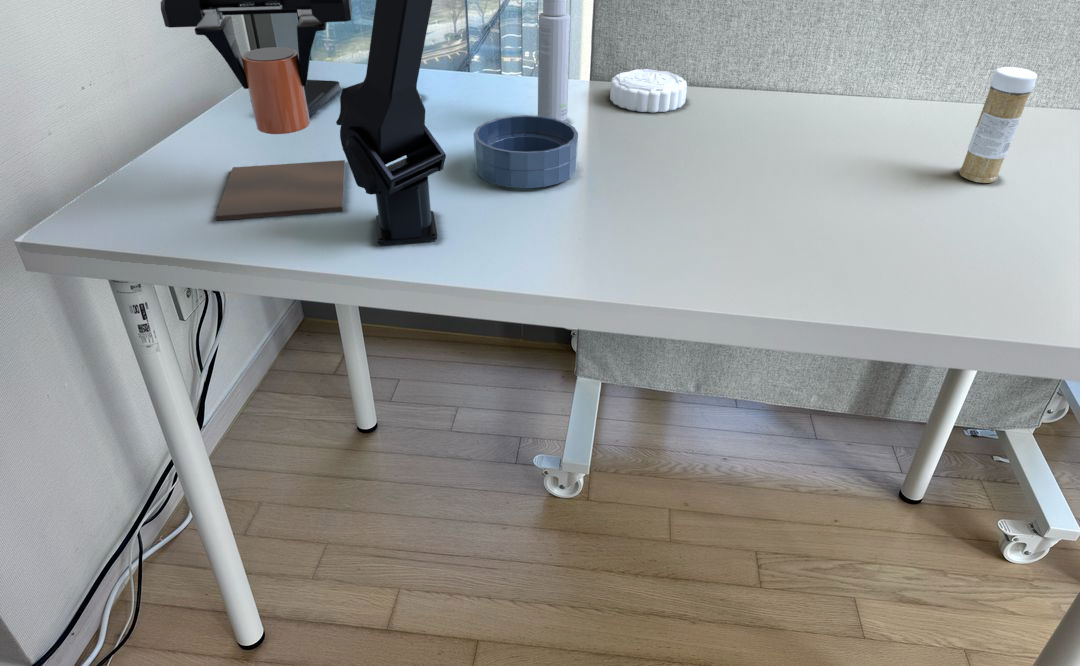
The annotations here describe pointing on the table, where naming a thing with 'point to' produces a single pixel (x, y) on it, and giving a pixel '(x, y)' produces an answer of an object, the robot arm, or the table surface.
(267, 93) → the cup
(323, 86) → the phone
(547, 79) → the bottle
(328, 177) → the coaster board
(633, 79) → the mooncake
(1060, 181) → the table surface
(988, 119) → the sprinkles bottle
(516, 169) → the bowl
